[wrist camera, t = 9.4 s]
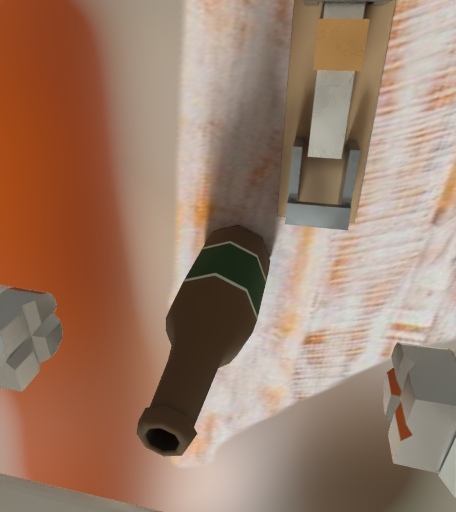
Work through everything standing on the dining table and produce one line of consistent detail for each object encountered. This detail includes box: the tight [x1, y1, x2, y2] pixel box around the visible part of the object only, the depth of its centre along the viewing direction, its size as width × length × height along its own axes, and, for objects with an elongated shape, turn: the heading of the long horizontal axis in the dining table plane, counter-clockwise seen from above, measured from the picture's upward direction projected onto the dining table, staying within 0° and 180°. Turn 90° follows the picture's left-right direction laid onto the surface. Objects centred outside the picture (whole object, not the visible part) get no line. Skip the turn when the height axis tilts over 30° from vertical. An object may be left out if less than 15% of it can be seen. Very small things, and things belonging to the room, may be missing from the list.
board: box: [277, 0, 396, 223], centre depth 34 cm, size 8×23×1 cm, turn 0°
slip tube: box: [308, 2, 370, 159], centre depth 30 cm, size 3×14×5 cm, turn 0°
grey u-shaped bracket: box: [285, 136, 361, 230], centre depth 35 cm, size 5×7×5 cm
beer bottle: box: [137, 225, 270, 456], centre depth 34 cm, size 8×8×24 cm
